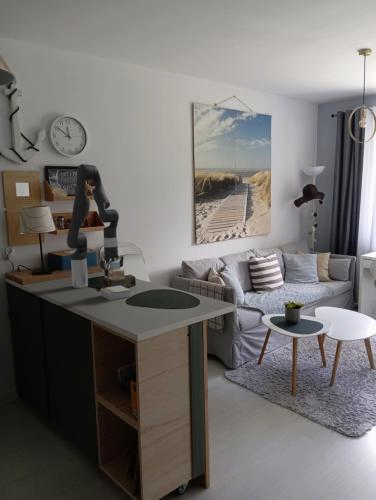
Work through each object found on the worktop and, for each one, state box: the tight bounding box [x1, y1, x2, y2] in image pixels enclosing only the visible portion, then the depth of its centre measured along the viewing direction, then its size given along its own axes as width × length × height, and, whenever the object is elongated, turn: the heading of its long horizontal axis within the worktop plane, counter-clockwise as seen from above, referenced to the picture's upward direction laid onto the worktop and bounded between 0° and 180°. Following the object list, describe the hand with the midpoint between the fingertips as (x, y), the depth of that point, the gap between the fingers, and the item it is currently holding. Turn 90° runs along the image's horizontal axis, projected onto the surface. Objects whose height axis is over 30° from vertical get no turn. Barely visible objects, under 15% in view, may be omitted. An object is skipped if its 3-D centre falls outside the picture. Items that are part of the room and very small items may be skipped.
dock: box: [100, 285, 131, 301], centre depth 225 cm, size 13×12×4 cm
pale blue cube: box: [109, 260, 121, 270], centre depth 223 cm, size 4×4×4 cm
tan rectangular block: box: [103, 266, 125, 281], centre depth 225 cm, size 14×6×5 cm, turn 34°
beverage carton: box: [102, 274, 137, 288], centre depth 248 cm, size 8×19×7 cm, turn 118°
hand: (112, 275), depth 227 cm, fingers closed on tan rectangular block, 6 cm apart
